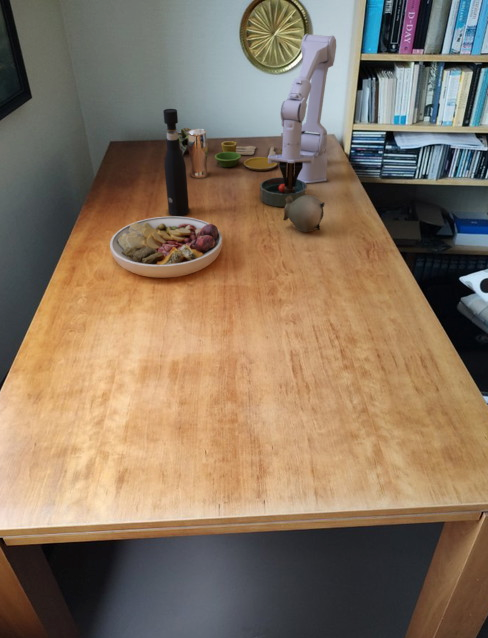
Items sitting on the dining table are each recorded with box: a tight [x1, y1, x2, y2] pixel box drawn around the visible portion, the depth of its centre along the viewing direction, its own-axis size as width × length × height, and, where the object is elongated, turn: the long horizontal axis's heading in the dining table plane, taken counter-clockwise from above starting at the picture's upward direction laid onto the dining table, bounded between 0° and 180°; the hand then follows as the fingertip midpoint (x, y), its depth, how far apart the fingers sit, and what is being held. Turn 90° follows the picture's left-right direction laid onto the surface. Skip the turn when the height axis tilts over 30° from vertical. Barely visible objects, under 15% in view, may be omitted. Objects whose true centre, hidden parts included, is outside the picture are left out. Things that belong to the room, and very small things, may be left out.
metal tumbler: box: [187, 128, 209, 179], centre depth 195 cm, size 7×7×15 cm
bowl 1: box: [109, 215, 223, 279], centre depth 149 cm, size 30×30×8 cm
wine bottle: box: [163, 108, 190, 217], centre depth 164 cm, size 6×6×30 cm
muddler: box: [284, 163, 295, 194], centre depth 178 cm, size 4×4×11 cm
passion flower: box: [177, 127, 192, 156], centre depth 215 cm, size 11×11×12 cm
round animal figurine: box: [282, 194, 326, 233], centre depth 161 cm, size 10×12×10 cm
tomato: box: [279, 184, 285, 193], centre depth 184 cm, size 3×3×3 cm
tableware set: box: [214, 132, 327, 172], centre depth 210 cm, size 41×28×6 cm
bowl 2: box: [259, 176, 308, 208], centre depth 181 cm, size 15×15×4 cm
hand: (289, 185), depth 179 cm, fingers closed on muddler, 2 cm apart
